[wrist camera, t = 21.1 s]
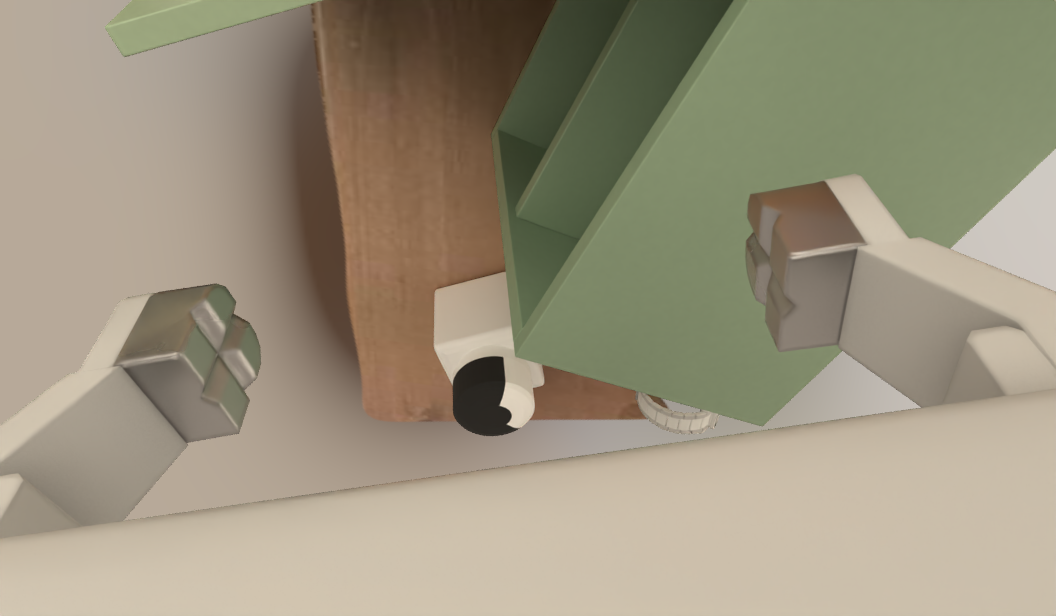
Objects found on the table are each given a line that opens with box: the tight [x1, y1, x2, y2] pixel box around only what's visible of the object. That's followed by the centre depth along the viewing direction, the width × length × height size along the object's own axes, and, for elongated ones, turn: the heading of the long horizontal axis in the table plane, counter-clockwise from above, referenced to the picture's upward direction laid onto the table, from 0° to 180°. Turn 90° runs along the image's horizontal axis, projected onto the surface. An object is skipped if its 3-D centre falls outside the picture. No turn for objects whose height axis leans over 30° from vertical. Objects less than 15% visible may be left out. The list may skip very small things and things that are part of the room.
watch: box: [635, 391, 720, 434], centre depth 59 cm, size 6×8×11 cm
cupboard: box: [491, 0, 1056, 426], centre depth 37 cm, size 15×22×22 cm
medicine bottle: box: [434, 271, 544, 436], centre depth 55 cm, size 7×7×12 cm
